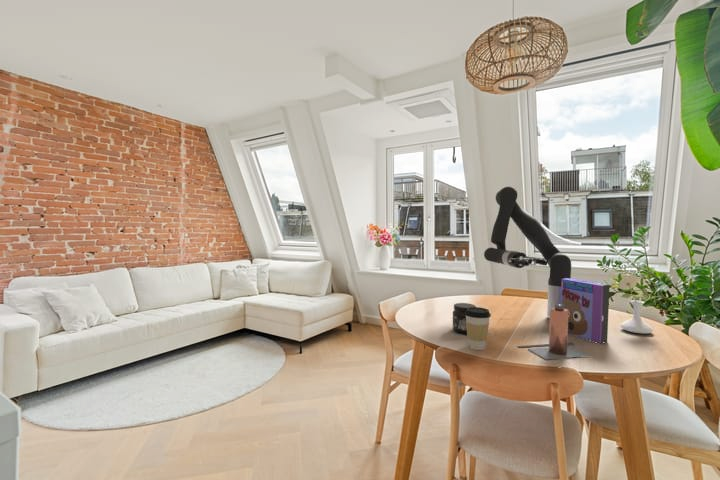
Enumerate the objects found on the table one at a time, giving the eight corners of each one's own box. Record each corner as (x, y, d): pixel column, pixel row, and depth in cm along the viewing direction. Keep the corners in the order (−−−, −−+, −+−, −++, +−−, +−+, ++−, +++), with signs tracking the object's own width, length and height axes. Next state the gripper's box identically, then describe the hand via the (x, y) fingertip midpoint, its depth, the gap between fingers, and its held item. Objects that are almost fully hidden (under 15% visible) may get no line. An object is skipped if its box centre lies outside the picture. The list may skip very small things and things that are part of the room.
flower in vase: (647, 329, 159) (650, 275, 157) (656, 337, 148) (659, 279, 147) (613, 326, 164) (615, 273, 163) (619, 333, 154) (621, 277, 152)
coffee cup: (489, 344, 140) (490, 307, 140) (490, 353, 131) (491, 314, 130) (464, 341, 144) (465, 305, 143) (463, 350, 134) (463, 311, 134)
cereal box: (560, 331, 157) (561, 278, 155) (567, 330, 159) (568, 277, 157) (599, 343, 141) (601, 285, 139) (607, 342, 143) (609, 284, 141)
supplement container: (457, 326, 164) (457, 301, 163) (479, 330, 158) (480, 304, 157) (448, 332, 156) (449, 306, 155) (472, 337, 150) (472, 309, 149)
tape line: (571, 343, 142) (571, 342, 142) (573, 344, 140) (573, 343, 140) (517, 346, 138) (517, 346, 138) (519, 348, 136) (519, 347, 136)
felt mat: (569, 346, 137) (569, 346, 137) (589, 356, 128) (589, 355, 128) (527, 349, 134) (527, 348, 134) (545, 360, 125) (545, 359, 125)
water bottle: (559, 348, 135) (560, 302, 134) (570, 354, 129) (572, 306, 128) (545, 349, 134) (546, 303, 133) (556, 355, 128) (557, 307, 127)
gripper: (500, 251, 161) (522, 254, 145) (528, 250, 163) (552, 254, 147) (500, 267, 162) (521, 272, 146) (527, 266, 164) (552, 271, 148)
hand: (537, 263), depth 147 cm, fingers open, 8 cm apart
